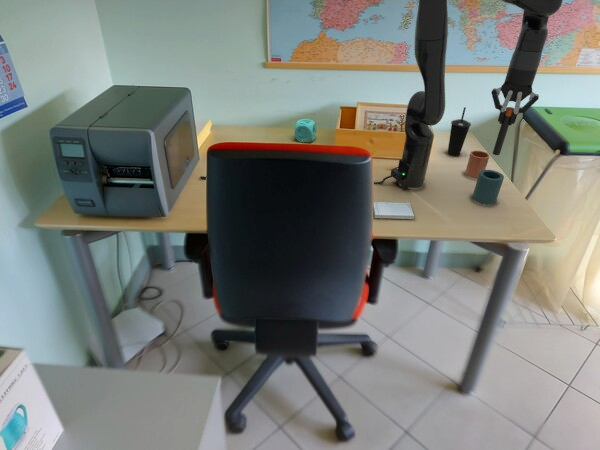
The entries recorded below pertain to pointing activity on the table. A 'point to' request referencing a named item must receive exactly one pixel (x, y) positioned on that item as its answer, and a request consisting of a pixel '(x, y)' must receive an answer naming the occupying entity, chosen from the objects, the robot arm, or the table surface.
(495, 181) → the jar
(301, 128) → the decorative dice
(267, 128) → the table surface
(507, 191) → the table surface
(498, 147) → the marker
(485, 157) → the pen cup
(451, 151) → the drinking cup
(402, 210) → the hard drive
